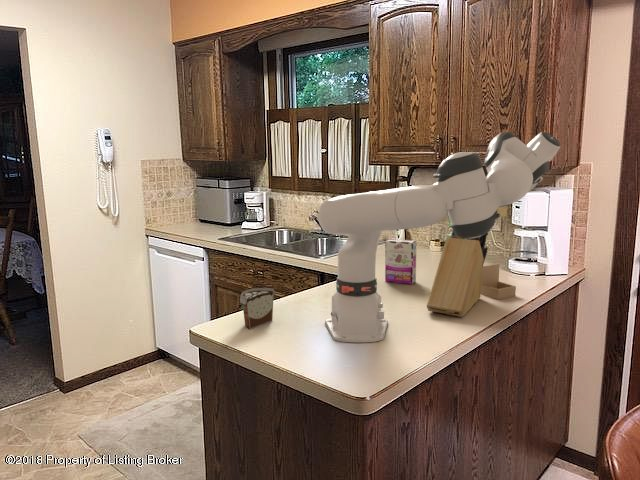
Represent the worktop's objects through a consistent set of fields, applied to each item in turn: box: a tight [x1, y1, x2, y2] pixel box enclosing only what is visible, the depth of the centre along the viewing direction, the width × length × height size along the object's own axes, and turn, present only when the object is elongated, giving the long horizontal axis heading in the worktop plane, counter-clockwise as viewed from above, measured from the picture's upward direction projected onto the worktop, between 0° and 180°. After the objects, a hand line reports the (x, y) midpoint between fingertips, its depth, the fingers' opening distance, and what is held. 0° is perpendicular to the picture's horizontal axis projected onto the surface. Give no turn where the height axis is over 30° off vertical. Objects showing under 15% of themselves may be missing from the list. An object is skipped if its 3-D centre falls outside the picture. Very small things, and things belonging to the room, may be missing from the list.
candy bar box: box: [384, 238, 417, 286], centre depth 204 cm, size 11×5×16 cm, turn 62°
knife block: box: [426, 231, 489, 317], centre depth 175 cm, size 11×35×31 cm, turn 150°
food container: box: [239, 287, 276, 330], centre depth 160 cm, size 12×6×10 cm, turn 141°
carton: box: [481, 263, 517, 300], centre depth 186 cm, size 8×8×10 cm
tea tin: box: [497, 204, 508, 218], centre depth 183 cm, size 5×5×10 cm
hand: (496, 200), depth 183 cm, fingers closed on tea tin, 5 cm apart
